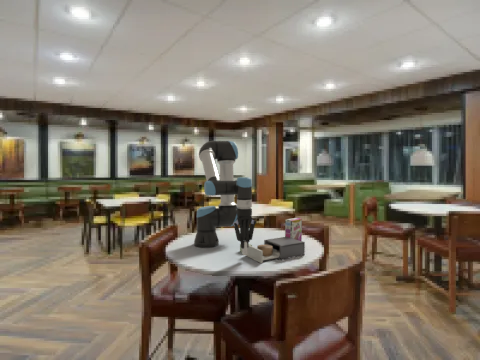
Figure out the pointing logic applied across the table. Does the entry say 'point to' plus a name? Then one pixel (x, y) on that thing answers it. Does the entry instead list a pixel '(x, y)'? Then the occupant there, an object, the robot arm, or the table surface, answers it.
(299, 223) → the candy bar box
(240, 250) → the pale green block
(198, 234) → the robot arm
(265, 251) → the brown flattened rounded piece
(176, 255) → the table surface
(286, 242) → the housing
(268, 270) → the table surface
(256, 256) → the cream pull-out drawer
